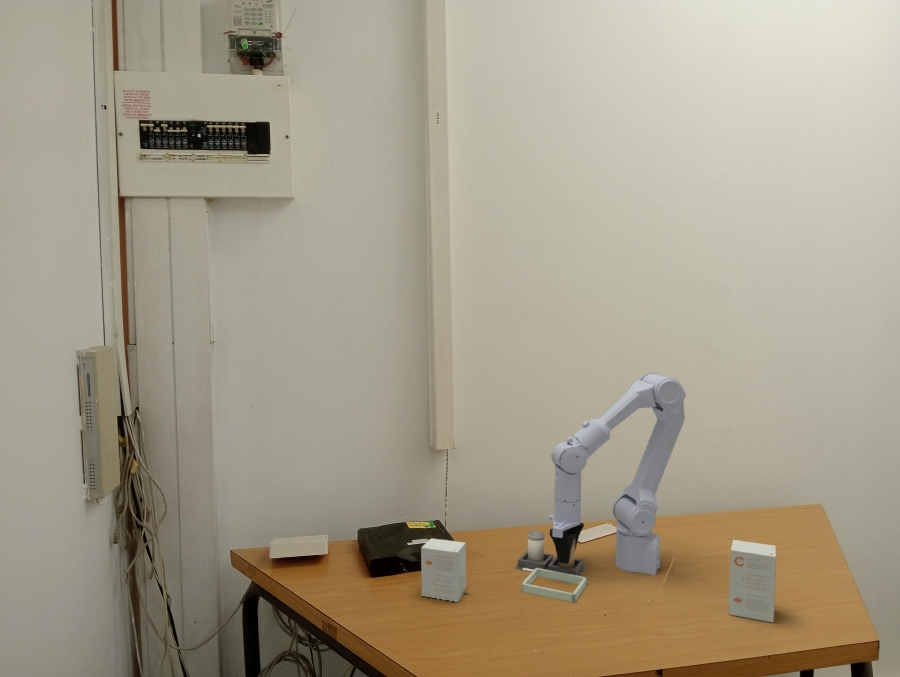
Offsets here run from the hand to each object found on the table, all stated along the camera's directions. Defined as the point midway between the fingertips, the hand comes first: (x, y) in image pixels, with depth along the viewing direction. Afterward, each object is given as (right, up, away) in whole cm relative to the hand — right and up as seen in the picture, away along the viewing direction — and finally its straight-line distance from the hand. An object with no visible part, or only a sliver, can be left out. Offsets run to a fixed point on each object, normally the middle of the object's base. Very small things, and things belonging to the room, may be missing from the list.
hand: (566, 559), depth 154 cm
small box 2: (+33, -5, -17) cm, 38 cm away
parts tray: (-4, -4, -9) cm, 11 cm away
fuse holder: (-3, -3, +2) cm, 5 cm away
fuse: (-6, -2, +3) cm, 7 cm away
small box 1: (-27, -4, -10) cm, 29 cm away
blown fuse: (0, -2, 0) cm, 2 cm away
